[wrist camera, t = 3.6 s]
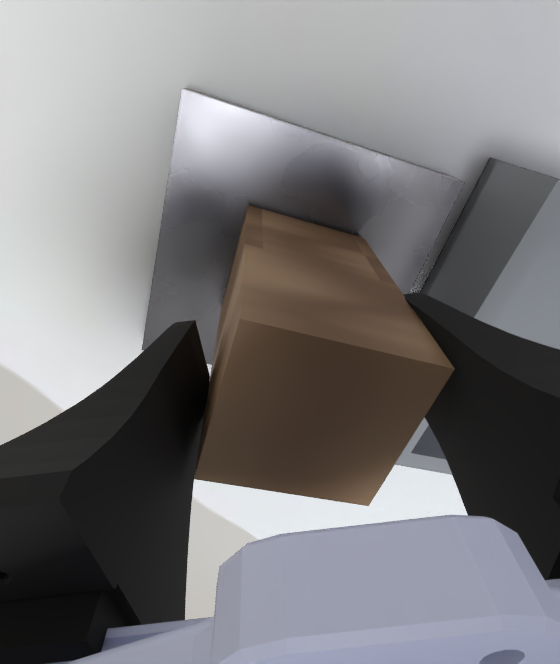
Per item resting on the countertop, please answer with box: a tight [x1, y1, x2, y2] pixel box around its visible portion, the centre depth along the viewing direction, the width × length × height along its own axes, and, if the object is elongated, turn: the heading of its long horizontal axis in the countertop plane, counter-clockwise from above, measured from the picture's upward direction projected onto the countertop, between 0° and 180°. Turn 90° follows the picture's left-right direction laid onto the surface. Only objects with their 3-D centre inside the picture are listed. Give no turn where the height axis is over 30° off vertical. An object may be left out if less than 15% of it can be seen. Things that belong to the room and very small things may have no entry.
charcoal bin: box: [395, 158, 560, 474], centre depth 17 cm, size 12×12×4 cm
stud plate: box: [142, 88, 464, 364], centre depth 15 cm, size 10×10×5 cm
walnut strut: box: [194, 205, 455, 506], centre depth 12 cm, size 4×4×8 cm
